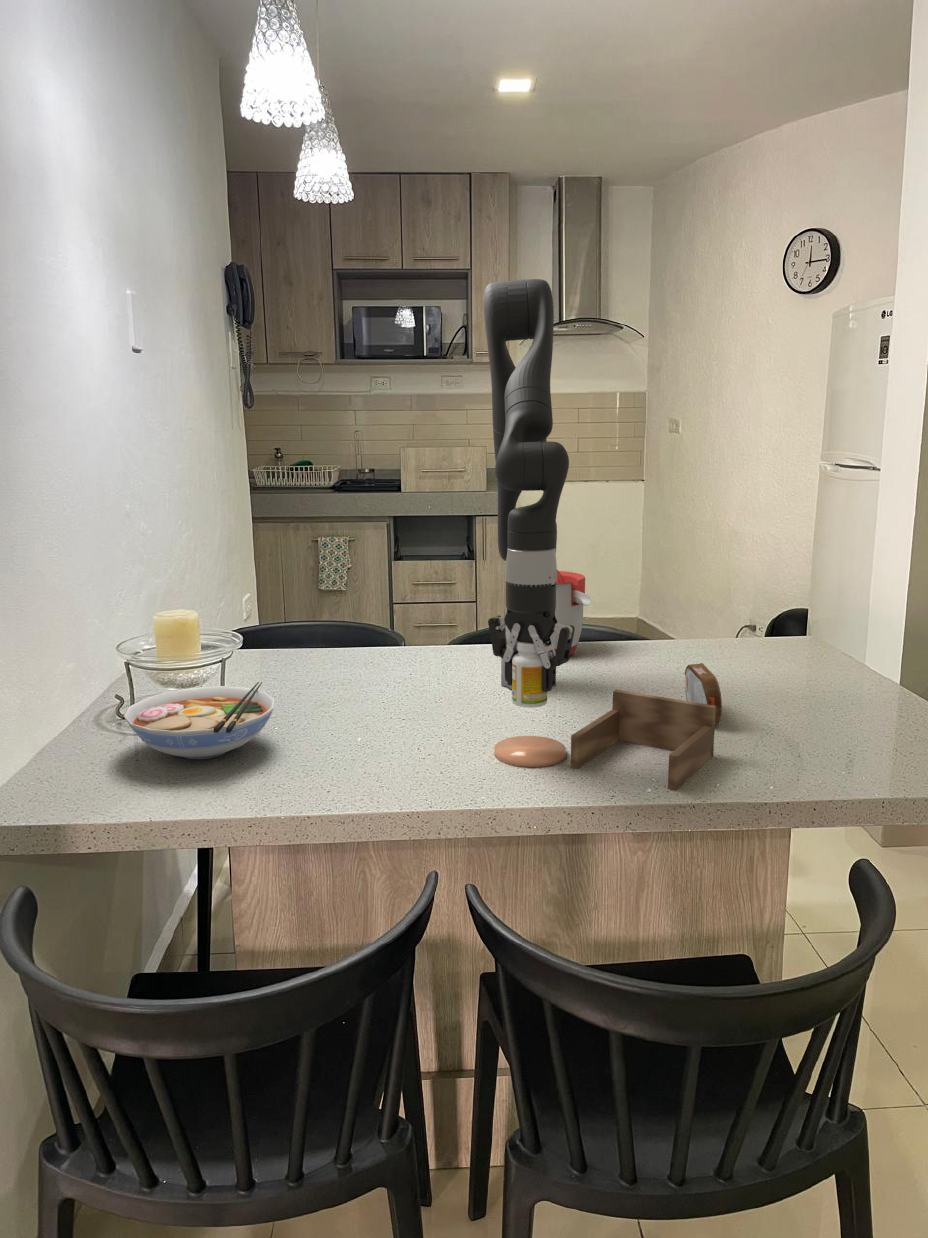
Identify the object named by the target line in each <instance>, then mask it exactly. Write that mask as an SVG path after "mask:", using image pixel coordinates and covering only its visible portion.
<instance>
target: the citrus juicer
mask: <svg viewBox="0 0 928 1238" xmlns="http://www.w3.org/2000/svg"><path fill="white" fill-rule="evenodd" d="M591 603H592V599H591V597H590V595H588V594H586V576H585V575H584V574H581V573H577V572H573V571H565V570H564V571H563V570H559V569H557V578H556V609H555V617H556V619H557V622H558V623H560V624H563V625H565V626H569V625H573V626H574V628H575V631H574V636H573V641H572V646H571V651H570V656H571V655H573V654H575V651H576V650H577V647H578V645H579V640H580V638H581V633H582V630H583V623H584V622H583V620H584V606H585V607H587V606H590V605H591ZM557 644H558V638H557V637H556V631H554V646H555V649H554V651H555V654H556V649H557Z"/></svg>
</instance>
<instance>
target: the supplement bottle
mask: <svg viewBox="0 0 928 1238" xmlns="http://www.w3.org/2000/svg"><path fill="white" fill-rule="evenodd" d="M517 651H518V654H516V655H514V657H513V659H512V689H511V697H512V698H511V701H512V704H514V705H515V706H517V707H520V708H521V707H522V708H528V709H529V708H540V707H542V706H545V705H546V704H548V692H543V691H542V668H544V665H543V663H542V660H541V657H540V655H539V654H538V653H537V651H536V648H535V645H534V644H532V643H525V642H518V641H517Z"/></svg>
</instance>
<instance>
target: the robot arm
mask: <svg viewBox="0 0 928 1238" xmlns="http://www.w3.org/2000/svg"><path fill="white" fill-rule="evenodd" d="M483 315H484V316H483V317H484V327H485V335H486V343H487V353H488V360H489V369H490V381H491V382H490V384H491V409H492V410H491V411H492V412H491V413H492V415H491V417H492V432H493V433H492V435H493V437H492V439H493V449H494V460H495V465H494V466H495V467H494V471H495V476H496V478H495V479H496V482H497V546H498V551H499V555H500V558H501V559H502V560H503V561H505V615H504V616H501V615H496V616H494V617H491V618H489V619H488V621H487V623H488V624H487V625H488V630H489V636H490V641H491V647H492V654H493V656H495V657H499V658H500V662H501V663H500V668H501V669H500V671H501V672H500V676H501V677H500V678H501V679H500V680H501V681H500V685H501V686H503V687H506V688H507V689H509V690H512V659H513V657H514V655H516V654H518V651H517V641H518V642H525V643H532V644H534V645H535V648H536V651H537V653H538V654H539V655H540V657H541V660H542V663H543V665H544V668H542V691H543V692H547V693H549V692H551V691H553V688H555V687H556V684H557V667H560V666H562V665H563V664H567V663H569V661H570V656H571V655H570V651H571V646H572V641H573V636H574V631H575V628H574V626H573V625H569V626H565V625H563V624H560V623H558V622H557V619H556V617H555V609H556V578H557V570H558V567H557V565H558V564H557V555H556V554H557V544H558V543H557V541H558V526H557V525H558V524H557V516H558V515H557V513H558V508H559V503H560V499H561V496H562V491H563V489H564V487H565V483H566V481H567V480H566V479H567V476H568V472H569V467H570V459H569V458H570V457H569V454H568V451H567V450H566V448H565V447H564V446H563V444H561V443H560V442H557V441H547V439H548V437H549V436H550V435H551V433H552V430H553V425H554V422H553V421H554V420H553V409H552V405H553V404H552V396H551V395H552V394H551V373H552V364H553V363H552V362H553V351H554V350H553V349H554V328H555V327H554V326H555V325H554V321H555V318H554V316H555V315H554V299H553V292H552V288H551V286H550V284H549V282H548V281H546V280H545V279H541V278H540V279H538V278H532V279H531V278H529V279H528V278H527V279H526V278H525V279H515V280H514V279H513V280H502V281H499V280H498V281H493V282H489V283H488V284H487V285H486V287H485V289H484V293H483ZM526 340H532V343H530V344H531V345H530V346H529V348H528V350H527V351H526V353H525V354H524V356H523V357H522V359H521V360H520V361H519V363H518V364H517V365H515V364H514V361H513V360H512V357H511V355H510V352H509V350H508V346H507V343H506V342H509V341H511V342H512V341H526ZM524 491H525V492H527V491H529V492H530V491H533V492H534V491H541V492H542V491H543V493H542V495H541V497H540V498H539V499H538V501H536V502H535V503H532V504H529V505H524V506H520V507H516V505H517V502H518V500H519V497H520V496H521V494H522V492H524ZM554 631H556V637H557V638H558V644H557V649H556V654H555V651H554V649H555V646H554Z"/></svg>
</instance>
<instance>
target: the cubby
mask: <svg viewBox="0 0 928 1238" xmlns="http://www.w3.org/2000/svg"><path fill="white" fill-rule="evenodd" d="M715 714H716V706H713V705H707V704H701V703H695V702H689V701H687V700H683V699H676V698H671V697H665V696H664V697H663V696H659V695H653V694H645V693H640V692H633V691H628V690H622V689H618V688H617V689H614V690H612V709H610V710H609V711H607V712H606V713H604V714H603V715H601V716H599V717H598V718H596V719H595V720H593V721H591V722H590V723H589V724H587V725H585V726H584V727H581V729H579V730H577V731H576V732H574V733H573V734H571V735H570V768H573V769H580V768H581V767H583V766H584V765H585V764H587V763H588V762H590V761H591V760H593V759H594V758H595V757H597V756H598V755H599V754H601V753H602V752H604V751H605V750H607V749H608V748H610V747H611V746H612V745H614V744H615V743H617V742H618V741H621V742H626V743H631V744H637V745H642V746H646V747H652V748H656V749H657V748H658V749H661V750H663V749H664V750H668V751H672V752H670V753H669V755H668V773H667V774H668V775H667V776H668V777H667V789H669V790H673V791H677V790H678V789H679V788H680V787H681V786H682V785H684V783H685V782H687V781H688V780H689V779H690V777H692V776H694V774H695V773H697V771H699V769H701V768H702V767H703V766H704V765H705V764H706V763H708V761H709V760H710V759H711V758H713V757H714V749H715V730H716V723H715Z"/></svg>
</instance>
